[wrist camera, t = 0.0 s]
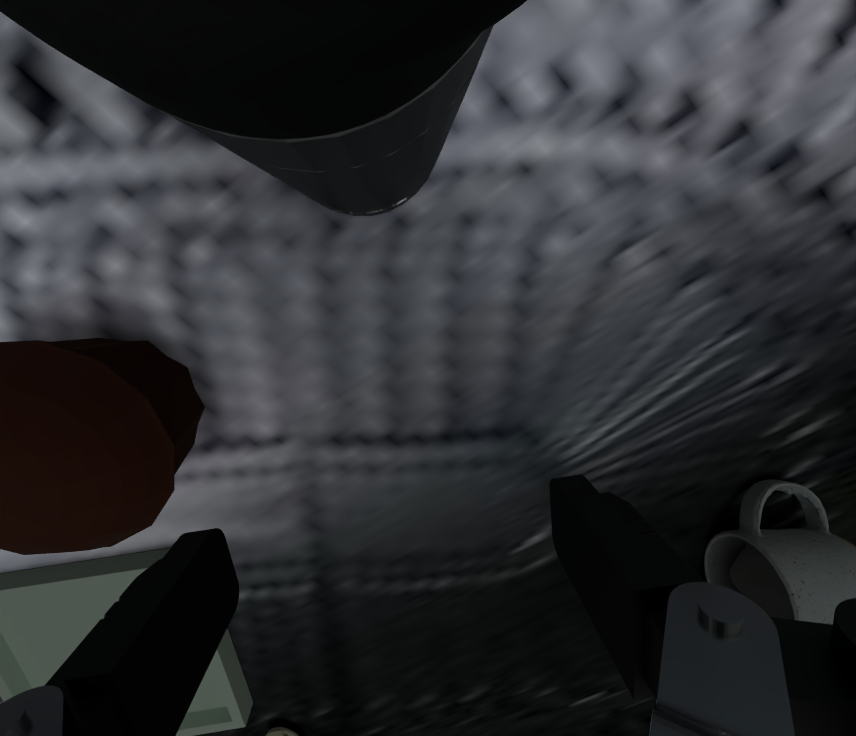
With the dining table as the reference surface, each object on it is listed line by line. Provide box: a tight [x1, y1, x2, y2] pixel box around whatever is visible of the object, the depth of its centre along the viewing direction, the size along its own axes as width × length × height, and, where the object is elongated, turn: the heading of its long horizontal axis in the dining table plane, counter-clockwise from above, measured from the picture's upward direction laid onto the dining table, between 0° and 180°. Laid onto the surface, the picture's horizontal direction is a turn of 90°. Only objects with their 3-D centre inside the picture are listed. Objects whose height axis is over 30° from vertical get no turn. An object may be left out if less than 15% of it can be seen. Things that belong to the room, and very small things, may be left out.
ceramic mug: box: [704, 479, 856, 624], centre depth 29 cm, size 11×8×8 cm
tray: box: [0, 548, 253, 736], centre depth 30 cm, size 16×16×2 cm
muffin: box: [0, 338, 205, 555], centre depth 21 cm, size 12×11×10 cm
